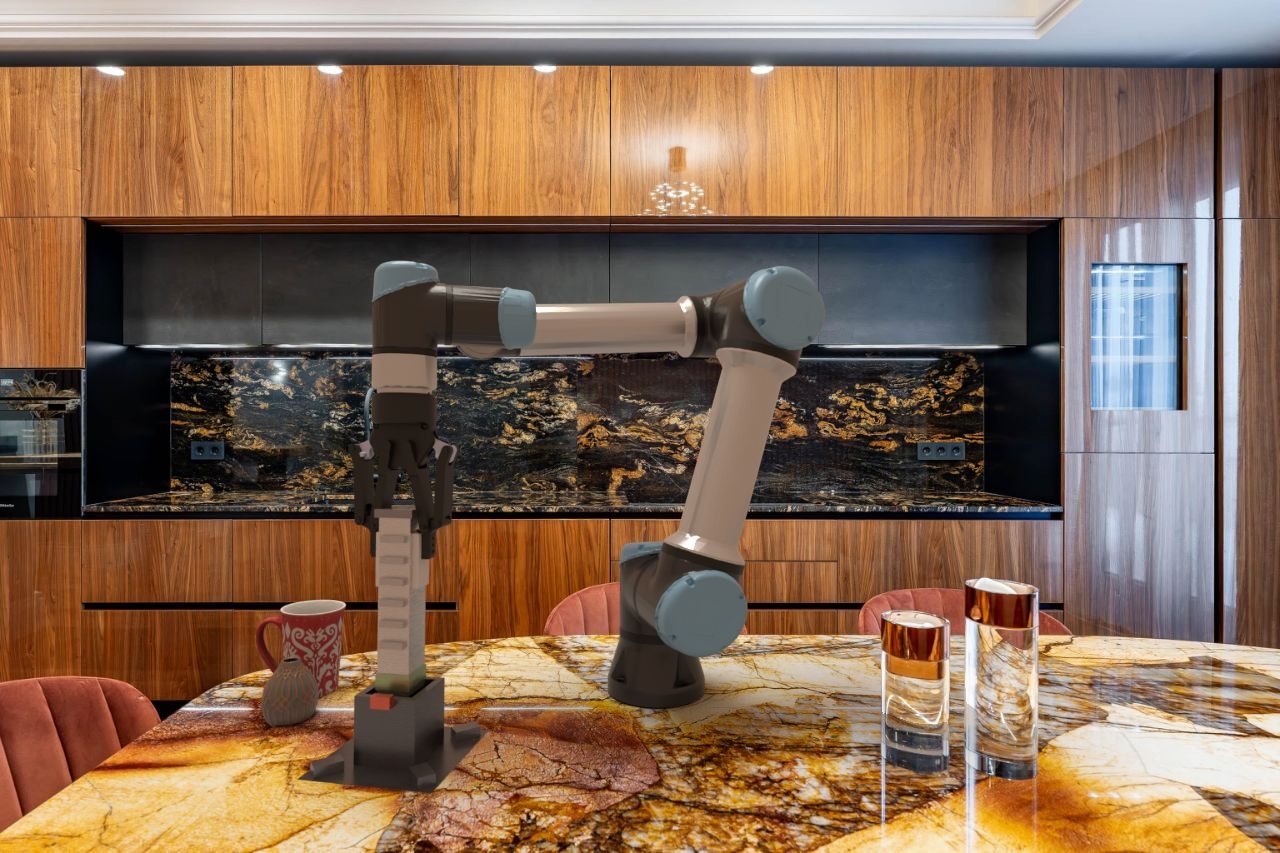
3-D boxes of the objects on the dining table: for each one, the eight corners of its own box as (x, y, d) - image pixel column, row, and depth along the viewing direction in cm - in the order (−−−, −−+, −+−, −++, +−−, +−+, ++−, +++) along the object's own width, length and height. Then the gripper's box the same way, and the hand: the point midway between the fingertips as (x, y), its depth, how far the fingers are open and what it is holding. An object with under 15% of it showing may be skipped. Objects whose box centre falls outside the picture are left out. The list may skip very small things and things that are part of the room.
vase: (248, 730, 92) (249, 664, 92) (291, 710, 98) (292, 649, 98) (288, 738, 89) (289, 670, 89) (329, 718, 96) (330, 654, 96)
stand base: (488, 737, 90) (489, 664, 90) (431, 802, 74) (432, 713, 74) (375, 727, 93) (376, 657, 93) (297, 788, 77) (298, 702, 77)
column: (428, 683, 86) (431, 505, 86) (408, 698, 81) (411, 510, 81) (393, 680, 86) (395, 504, 87) (371, 695, 81) (373, 509, 82)
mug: (354, 685, 108) (355, 599, 108) (329, 708, 99) (330, 614, 99) (273, 685, 108) (274, 598, 108) (240, 708, 99) (241, 613, 99)
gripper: (483, 393, 86) (481, 581, 86) (357, 394, 89) (355, 575, 89) (457, 390, 79) (455, 595, 79) (321, 390, 82) (319, 588, 81)
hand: (402, 584), depth 84 cm, fingers closed on column, 4 cm apart
